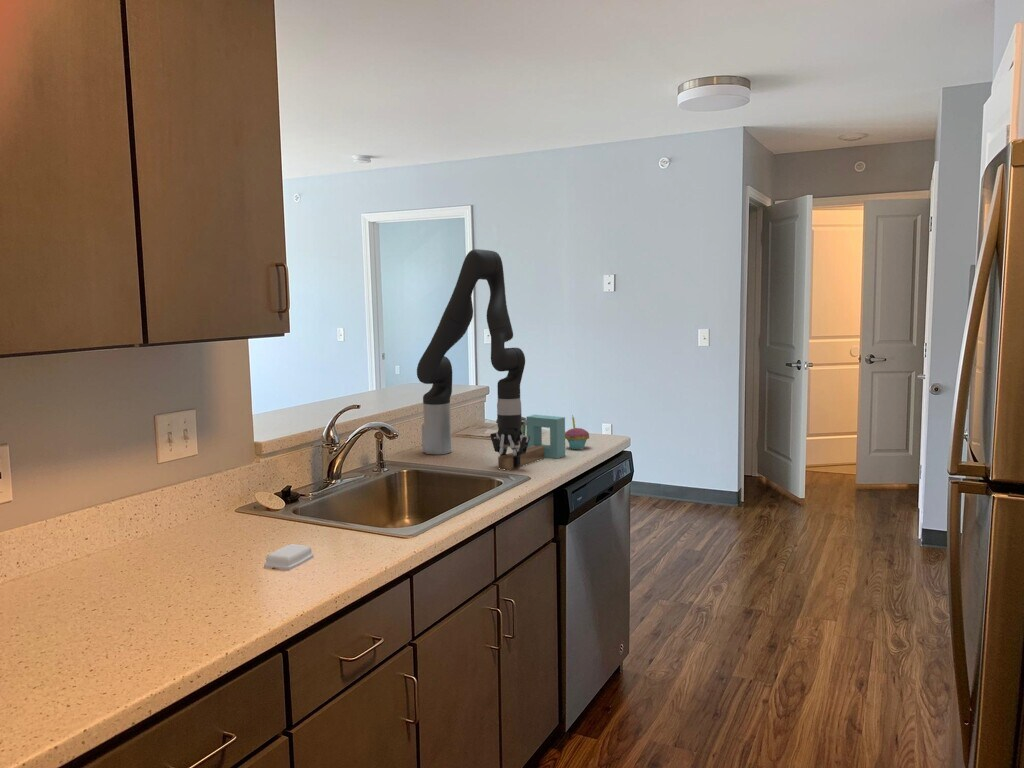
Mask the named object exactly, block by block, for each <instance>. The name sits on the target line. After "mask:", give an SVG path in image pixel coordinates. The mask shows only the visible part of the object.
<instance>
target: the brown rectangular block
mask: <svg viewBox="0 0 1024 768" xmlns="http://www.w3.org/2000/svg"><path fill="white" fill-rule="evenodd" d="M513 456H514V454H513V451H512V452H509V453H506V455H502V456H500V455H499V456H498V457H497V460H498V461H497V465H498V469H499V468H500V469H505V470H504V471H507V470H510V471H512V470H511V469H513V470H515V469H514V463H513ZM543 458H544V459H545V457H544V447H542V446H531V447H528V448H527V450H526V453H525V454H522V455H520V466H521V467H524V466H526V464H527V465H530V464H533V463H535V461H536V462H538V461H537V460H539V461H541V460H540V459H542V460H544V459H543ZM532 462H533V463H532ZM529 463H530V464H529ZM523 465H524V466H523ZM520 466H519V468H521V467H520ZM500 469H499V470H500Z"/></svg>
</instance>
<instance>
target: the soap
mask: <svg viewBox="0 0 1024 768" xmlns="http://www.w3.org/2000/svg"><path fill="white" fill-rule="evenodd" d="M314 557H315V555H314V553H313V552H312V548H311V547H310V546H308V545H304V544H303V545H302V544H293V543H290V544H287V545H284V546H283V547H281V548H277V550H274V551H273V552H271V553H269V554H268V555H267V556H266V558H265V562H264V564H263V565H264V566H263V567H264V568H267V569H271V570H273V568H275V569H278V570H279V571H291V570H293V569H295V568H298V567H300V566H301V565H303V564H305V563H306V562H308V561H310V560H312V559H314Z"/></svg>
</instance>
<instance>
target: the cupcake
mask: <svg viewBox="0 0 1024 768" xmlns="http://www.w3.org/2000/svg"><path fill="white" fill-rule="evenodd" d="M571 419H572V426H573V427H572V428H570V429H568V430H566V431H565V440H567V442H568V444H569V448H570V449H571V448H572V449H571V450H575V449H579V450H583V448H584V449H585V446H586V443H587V440H588V439H590V433H589V431H588V430H586V429H584V428H581V427H576V424H575V417H574V415H573V414H572V417H571Z"/></svg>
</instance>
